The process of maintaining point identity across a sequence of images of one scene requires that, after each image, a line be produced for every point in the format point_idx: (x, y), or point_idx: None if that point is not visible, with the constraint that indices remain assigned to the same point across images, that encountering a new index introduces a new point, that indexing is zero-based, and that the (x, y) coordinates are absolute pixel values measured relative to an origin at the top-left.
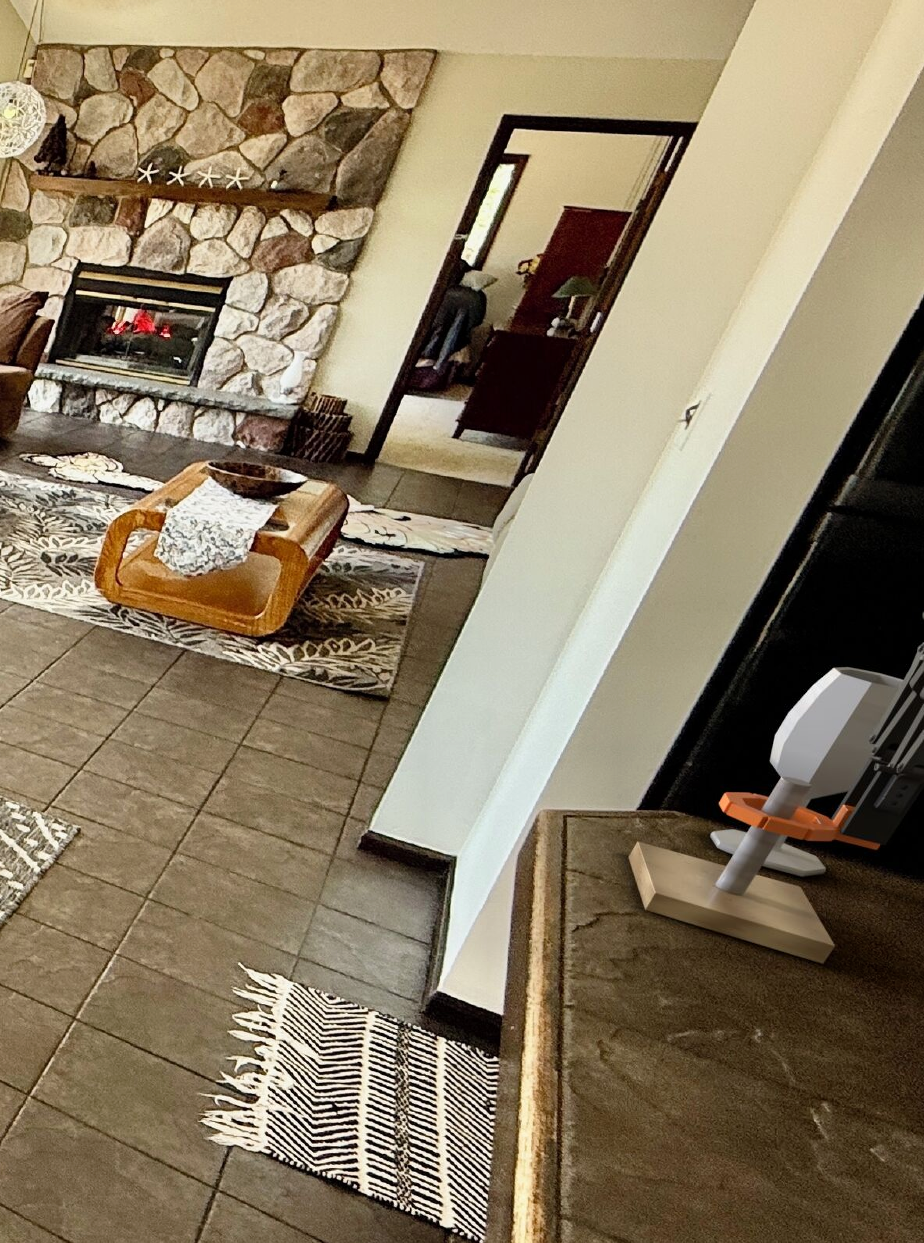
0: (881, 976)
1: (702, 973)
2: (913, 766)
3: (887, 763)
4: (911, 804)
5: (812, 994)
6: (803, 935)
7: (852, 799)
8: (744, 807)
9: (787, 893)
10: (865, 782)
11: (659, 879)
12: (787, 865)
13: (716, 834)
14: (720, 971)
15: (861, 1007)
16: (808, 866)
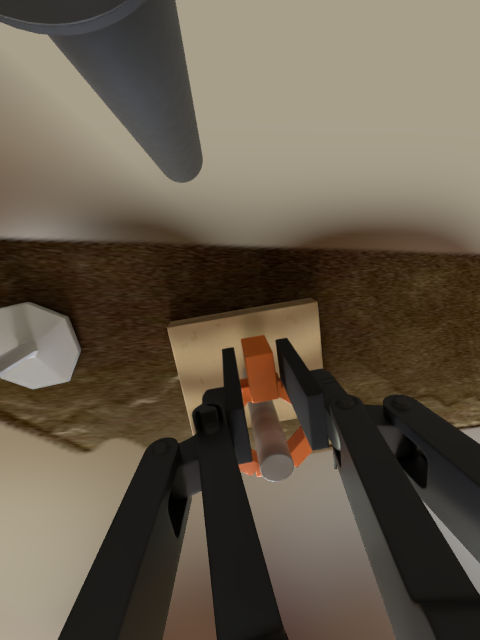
0: (291, 259)
1: (418, 361)
2: (422, 452)
3: (247, 443)
4: (306, 368)
5: (389, 302)
6: (316, 322)
7: (243, 403)
8: (300, 458)
9: (204, 336)
10: (246, 422)
11: (288, 414)
12: (68, 332)
13: (41, 386)
14: (402, 353)
15: (384, 273)
16: (44, 317)
